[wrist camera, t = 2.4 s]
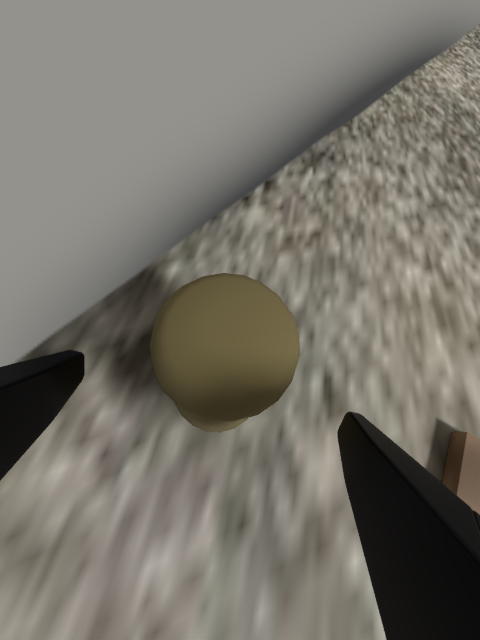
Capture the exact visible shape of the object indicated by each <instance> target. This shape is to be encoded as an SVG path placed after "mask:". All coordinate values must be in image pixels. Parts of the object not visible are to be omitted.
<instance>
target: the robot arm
mask: <svg viewBox="0 0 480 640" xmlns="http://www.w3.org/2000/svg"><path fill="white" fill-rule="evenodd" d="M83 377H84V354H83V353H82V352H78V351H74V350H67V351H63V352H59V353H55V354H51V355H47V356H43V357H39V358H35V359H31V360H27V361H23V362H19V363H15V364H11V365H7V366H3V367H0V480H1V479H2V478H3V477H4V476H5V475H6V474H7V472H8V471H9V470H10V469H11V468H12V467H13V466H14V464H15V463H16V462H17V461H18V460H19V459H20V458H21V456H22V455H23V454H24V453H25V452H26V451H27V450H28V449H29V447H30V446H31V445H32V444H33V443H34V442H35V441H36V439H37V438H38V437H39V436H40V435H41V434H42V433H43V431H44V430H45V429H46V428H47V427H48V426H49V425H50V423H51V422H52V421H53V420H54V418H55V417H56V416H57V415H58V413H59V412H60V410H61V409H62V408H63V406H64V405H65V403H66V402H67V401H68V399H69V398H70V397H71V395H72V394H73V392H74V391H75V390H76V388H77V387H78V385H79V384H80V383H81V381H82V380H83ZM338 442H339V448H340V455H341V461H342V467H343V473H344V479H345V484H346V488H347V492H348V495H349V499H350V503H351V507H352V511H353V514H354V518H355V522H356V526H357V529H358V533H359V537H360V541H361V545H362V548H363V552H364V556H365V560H366V563H367V567H368V571H369V575H370V579H371V582H372V586H373V590H374V594H375V597H376V601H377V605H378V609H379V613H380V616H381V620H382V624H383V628H384V631H385V635H386V639H387V640H480V515H479V514H478V513H477V512H476V511H474V510H472V508H471V507H470V506H469V505H468V504H466V503H465V502H464V501H463V500H462V499H460V498H459V497H458V496H457V495H456V494H455V493H453V492H452V491H451V490H450V489H449V488H447V487H446V486H445V485H444V484H443V483H442V482H440V481H439V480H438V479H437V478H436V477H434V476H433V475H432V474H431V473H430V472H429V471H427V470H426V469H425V468H424V467H423V466H421V465H420V464H419V463H418V462H417V461H416V460H414V459H413V458H412V457H411V456H410V455H408V454H407V453H406V452H405V451H404V450H403V449H401V448H400V447H399V446H398V445H397V444H395V443H394V442H393V441H392V440H391V439H390V438H388V437H387V436H386V435H385V434H384V433H382V432H381V431H380V430H379V429H378V428H377V427H375V426H374V425H373V424H372V423H371V422H369V421H368V420H367V419H366V418H365V417H364V416H362V415H361V414H359V413H354V412H347V413H346V414H345V416H344V418H343V420H342V423H341V425H340V427H339V429H338Z"/></svg>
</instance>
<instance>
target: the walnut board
mask: <svg viewBox="0 0 480 640" xmlns="http://www.w3.org/2000/svg"><path fill="white" fill-rule="evenodd" d="M442 483H443V484H444V485H445V486H446V487H447V488H449V489H450V490H451V491H452V492H453V493H455V494H456V495H457V496H458V497H459V498H460V499H462V500H463V501H464V502H465V503H466V504H468V505H469V506H470V507H471V508H472V510H474V511H476V512H477V513H478V514H479V515H480V439H478V438H476V437H475V436H473V435H471V434H470V433H468V432H451V438H450V443H449V448H448V453H447V459H446V464H445V469H444V474H443V479H442Z"/></svg>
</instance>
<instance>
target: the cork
mask: <svg viewBox="0 0 480 640" xmlns="http://www.w3.org/2000/svg"><path fill="white" fill-rule="evenodd" d="M150 351H151V359H152V367H153V371H154V373H155V375H156V377H157V379H158V381H159V383H160V385H161V387H162V389H163V391H164V392H165V393H166V394H167V395H168V396H169V397H170V398H171V399H172V400H173V401H174V402H175V403H176V405H177V407H178V409H179V411H180V413H181V415H182V416H183V417H184V418H185V419H186V420H187V421H188V422H189V423H191V424H192V425H193V426H195V427H197V428H200V429H202V430H204V431H210V432H223V431H226V430H230V429H233V428H236V427H237V426H239V425H240V424H241V423H243V422H244V421H246V420H247V419H248V417H252V416H255V415H258V414H260V413H261V412H263V411H264V410H265V409H267V408H268V407H270V406H271V405H273V404H274V403H275V402H277V401H278V400H279V399H280V397H281V396H282V395H283V393H284V392H285V390H286V389H287V388H288V386H289V385H290V383H291V382H292V379H293V376H294V373H295V369H296V366H297V363H298V359H299V356H300V347H299V332H298V329H297V326H296V324H295V321H294V318H293V315H292V313H291V312H290V310H289V309H288V308H287V306H286V305H285V304H284V302H283V301H282V300H281V298H280V297H279V296H278V295H277V294H276V293H275V292H273V291H272V290H271V289H269V288H268V287H267V286H265V285H264V284H263V283H261V282H259V281H256V280H254V279H251V278H249V277H246V276H244V275H236V274H227V273H222V274H215V275H209V276H204V277H201V278H199V279H197V280H195V281H192V282H190V283H188V284H186V285H184V286H182V287H181V288H180V289H179V290H178V291H176V292H175V293H174V294H173V295H172V296H171V297H170V298H168V299H167V300H166V302H165V304H164V305H163V307H162V309H161V310H160V312H159V314H158V315H157V317H156V319H155V323H154V327H153V332H152V337H151V342H150Z"/></svg>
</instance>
